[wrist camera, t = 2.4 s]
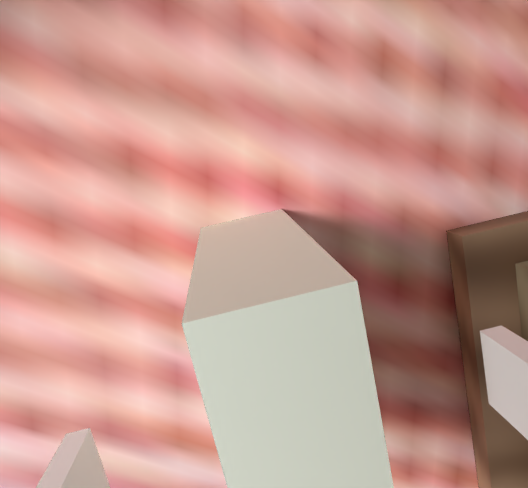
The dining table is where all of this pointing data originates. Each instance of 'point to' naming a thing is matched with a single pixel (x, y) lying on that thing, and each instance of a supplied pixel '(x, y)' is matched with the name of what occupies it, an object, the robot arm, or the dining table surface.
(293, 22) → the dining table surface
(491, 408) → the wooden rack
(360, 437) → the cream rectangular block
